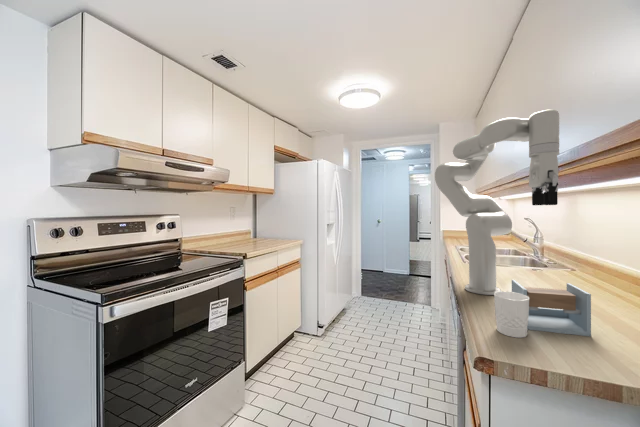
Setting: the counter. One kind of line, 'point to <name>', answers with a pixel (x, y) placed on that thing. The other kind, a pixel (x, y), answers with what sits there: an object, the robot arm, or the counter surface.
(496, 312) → the white cup
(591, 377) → the counter surface
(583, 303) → the shelf unit
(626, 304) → the counter surface
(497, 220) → the robot arm
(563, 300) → the brown box
